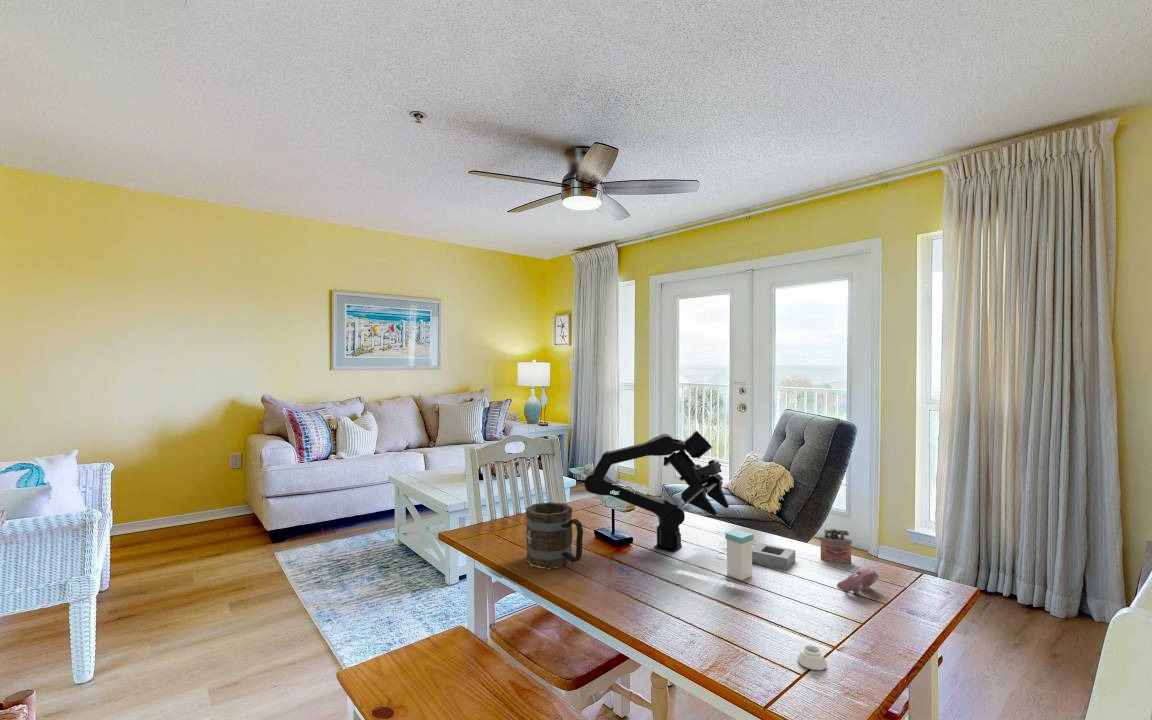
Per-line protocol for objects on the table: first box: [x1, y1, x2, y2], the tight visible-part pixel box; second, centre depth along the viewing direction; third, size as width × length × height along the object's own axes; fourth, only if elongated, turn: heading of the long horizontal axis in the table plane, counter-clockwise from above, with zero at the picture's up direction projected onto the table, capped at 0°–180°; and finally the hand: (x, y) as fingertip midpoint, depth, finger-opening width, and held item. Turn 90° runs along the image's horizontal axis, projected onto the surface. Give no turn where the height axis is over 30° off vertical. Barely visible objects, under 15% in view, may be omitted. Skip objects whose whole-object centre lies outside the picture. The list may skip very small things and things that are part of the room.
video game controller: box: [836, 567, 880, 595], centre depth 129 cm, size 10×5×7 cm, turn 119°
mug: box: [525, 501, 584, 569], centre depth 149 cm, size 20×14×15 cm
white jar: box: [797, 644, 828, 671], centre depth 99 cm, size 5×3×5 cm
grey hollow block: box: [752, 542, 796, 571], centre depth 146 cm, size 10×8×4 cm
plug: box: [724, 528, 754, 581], centre depth 137 cm, size 5×5×12 cm
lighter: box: [819, 527, 853, 565], centre depth 147 cm, size 8×3×10 cm, turn 68°
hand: (721, 510), depth 152 cm, fingers open, 9 cm apart
